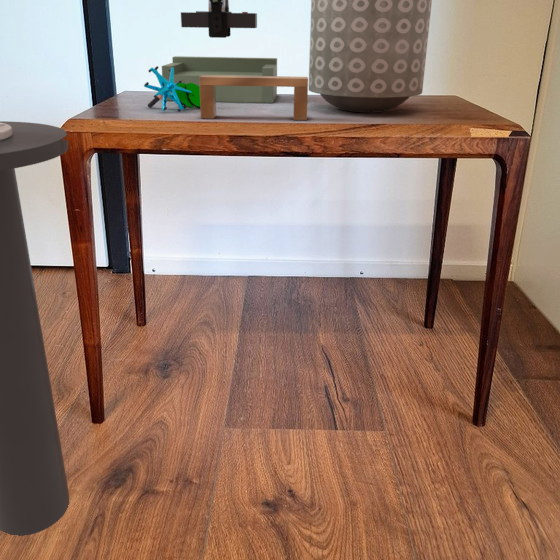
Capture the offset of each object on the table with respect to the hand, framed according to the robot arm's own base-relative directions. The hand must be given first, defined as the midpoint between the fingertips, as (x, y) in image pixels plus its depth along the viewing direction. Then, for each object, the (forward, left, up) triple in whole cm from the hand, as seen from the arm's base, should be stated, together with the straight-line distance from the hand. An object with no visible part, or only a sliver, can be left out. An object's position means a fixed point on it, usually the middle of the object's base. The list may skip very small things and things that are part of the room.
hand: (219, 35), depth 107 cm
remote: (0, 0, +1) cm, 1 cm away
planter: (+12, -25, -11) cm, 30 cm away
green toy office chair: (-14, -6, -11) cm, 19 cm away
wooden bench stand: (-9, -22, -11) cm, 26 cm away
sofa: (+1, +2, -11) cm, 11 cm away
